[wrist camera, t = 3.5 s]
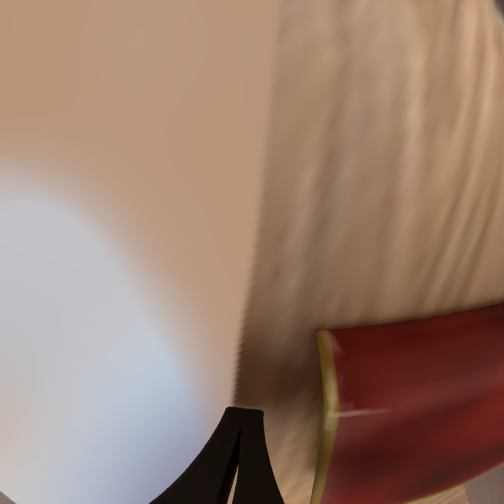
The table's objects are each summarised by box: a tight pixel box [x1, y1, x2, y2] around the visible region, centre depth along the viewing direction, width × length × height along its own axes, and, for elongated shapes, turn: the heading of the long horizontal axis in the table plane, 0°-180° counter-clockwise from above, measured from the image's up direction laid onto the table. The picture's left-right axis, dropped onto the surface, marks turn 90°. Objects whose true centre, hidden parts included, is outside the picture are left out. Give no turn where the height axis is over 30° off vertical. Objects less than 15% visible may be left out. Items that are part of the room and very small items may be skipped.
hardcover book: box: [310, 303, 504, 504], centre depth 8 cm, size 12×21×4 cm, turn 96°
